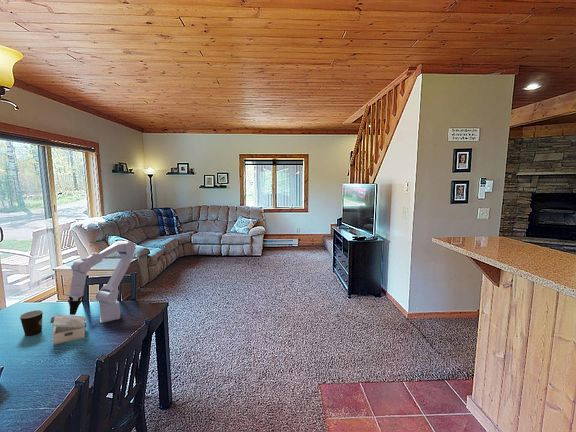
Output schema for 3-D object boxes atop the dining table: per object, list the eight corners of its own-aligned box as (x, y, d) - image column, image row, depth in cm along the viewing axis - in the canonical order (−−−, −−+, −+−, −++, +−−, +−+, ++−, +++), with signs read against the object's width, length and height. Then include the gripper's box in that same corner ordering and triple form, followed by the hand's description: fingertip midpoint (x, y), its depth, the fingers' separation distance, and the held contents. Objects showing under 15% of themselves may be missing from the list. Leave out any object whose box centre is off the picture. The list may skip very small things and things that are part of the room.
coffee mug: (31, 338, 145) (29, 319, 144) (17, 336, 147) (15, 317, 146) (54, 326, 157) (52, 308, 155) (41, 325, 158) (39, 307, 157)
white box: (87, 325, 158) (86, 315, 157) (87, 338, 146) (86, 327, 145) (55, 332, 151) (54, 322, 150) (53, 346, 139) (52, 335, 138)
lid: (83, 317, 156) (84, 316, 156) (83, 327, 146) (84, 326, 146) (51, 315, 148) (52, 314, 148) (49, 326, 138) (50, 324, 138)
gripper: (68, 282, 153) (63, 309, 152) (67, 287, 141) (62, 316, 140) (85, 282, 157) (80, 309, 156) (85, 287, 145) (80, 316, 144)
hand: (72, 312), depth 148 cm, fingers open, 7 cm apart
